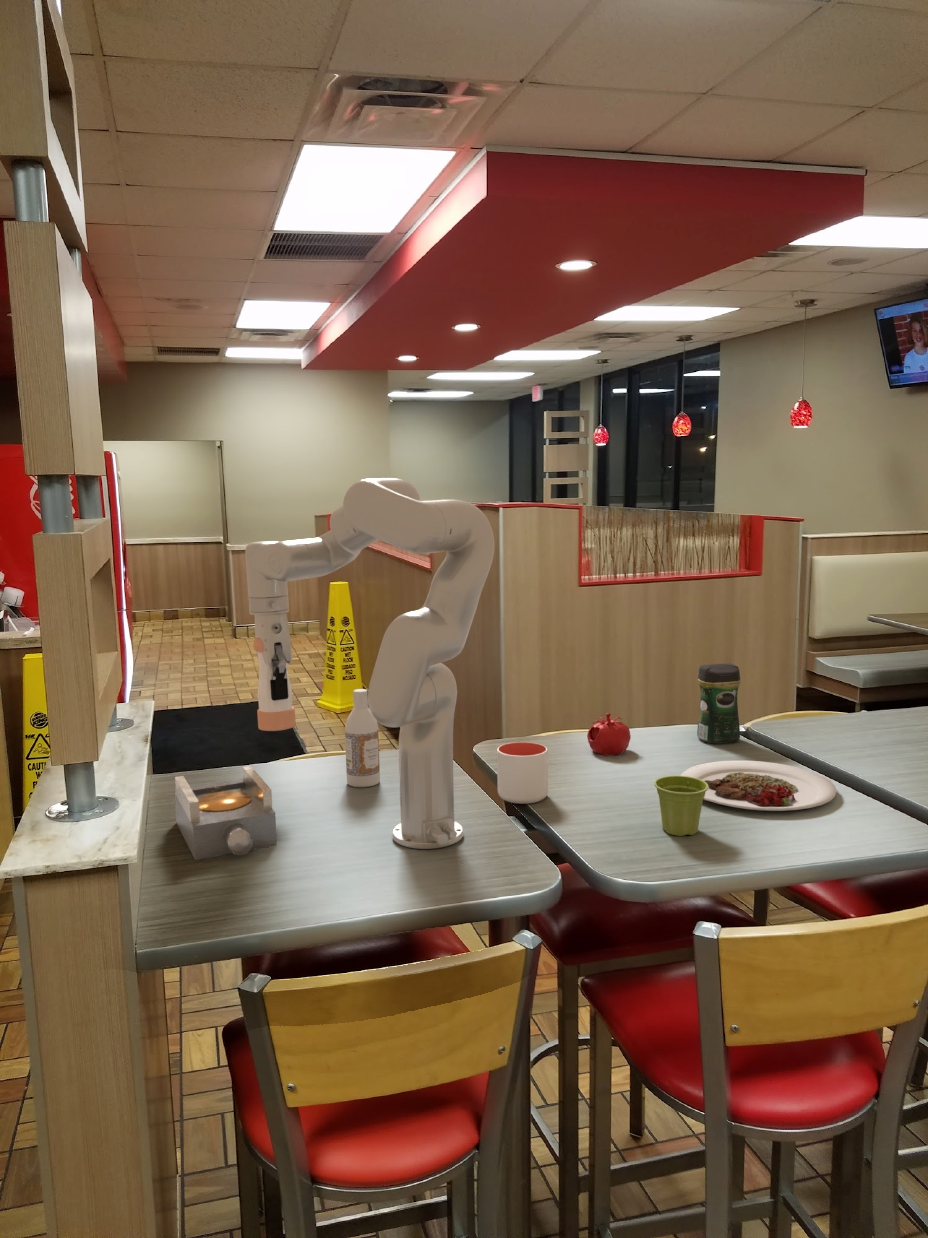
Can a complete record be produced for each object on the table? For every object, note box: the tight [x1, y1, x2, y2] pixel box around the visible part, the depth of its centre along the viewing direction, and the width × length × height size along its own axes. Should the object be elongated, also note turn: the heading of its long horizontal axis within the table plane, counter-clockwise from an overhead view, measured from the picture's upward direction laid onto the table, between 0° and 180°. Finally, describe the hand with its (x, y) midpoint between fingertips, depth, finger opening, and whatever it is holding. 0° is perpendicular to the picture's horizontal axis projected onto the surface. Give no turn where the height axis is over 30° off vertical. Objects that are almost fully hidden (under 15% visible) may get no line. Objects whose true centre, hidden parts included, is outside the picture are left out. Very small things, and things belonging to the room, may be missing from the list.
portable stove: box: [174, 765, 278, 861], centre depth 166 cm, size 24×14×10 cm, turn 26°
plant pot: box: [653, 775, 708, 837], centre depth 165 cm, size 9×9×9 cm
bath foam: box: [344, 688, 381, 788], centre depth 194 cm, size 7×7×20 cm
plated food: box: [679, 760, 837, 812], centre depth 186 cm, size 30×30×3 cm
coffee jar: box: [696, 662, 741, 744], centre depth 221 cm, size 10×8×19 cm
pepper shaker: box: [252, 637, 297, 732], centre depth 181 cm, size 7×7×19 cm
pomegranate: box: [586, 712, 632, 756], centre depth 215 cm, size 10×10×9 cm
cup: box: [496, 741, 549, 805], centre depth 184 cm, size 10×10×10 cm
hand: (275, 695), depth 181 cm, fingers closed on pepper shaker, 6 cm apart
